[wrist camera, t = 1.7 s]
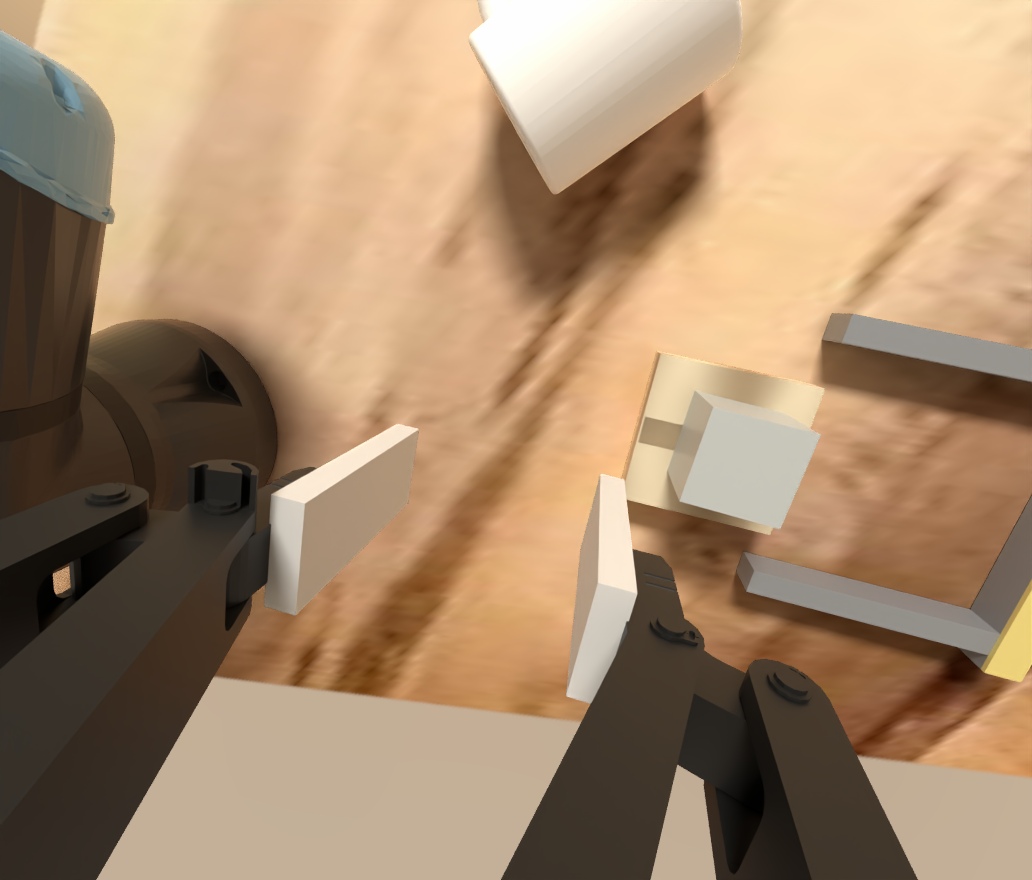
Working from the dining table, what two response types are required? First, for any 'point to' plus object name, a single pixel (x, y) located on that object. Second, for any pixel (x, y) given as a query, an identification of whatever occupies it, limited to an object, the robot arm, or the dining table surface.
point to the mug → (599, 70)
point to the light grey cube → (740, 459)
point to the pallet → (668, 411)
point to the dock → (976, 632)
